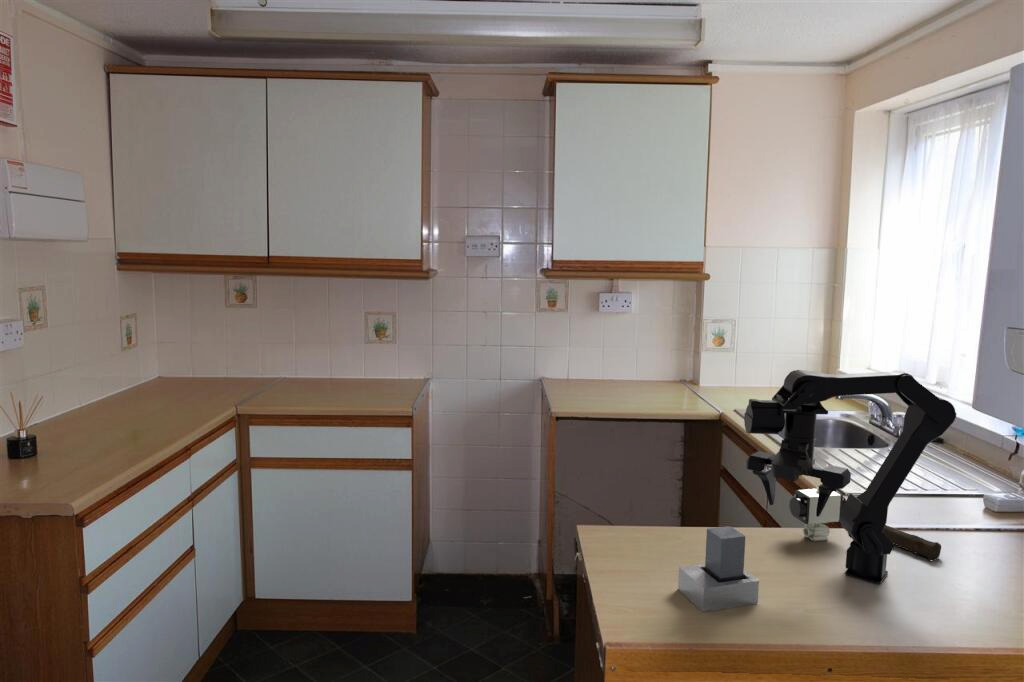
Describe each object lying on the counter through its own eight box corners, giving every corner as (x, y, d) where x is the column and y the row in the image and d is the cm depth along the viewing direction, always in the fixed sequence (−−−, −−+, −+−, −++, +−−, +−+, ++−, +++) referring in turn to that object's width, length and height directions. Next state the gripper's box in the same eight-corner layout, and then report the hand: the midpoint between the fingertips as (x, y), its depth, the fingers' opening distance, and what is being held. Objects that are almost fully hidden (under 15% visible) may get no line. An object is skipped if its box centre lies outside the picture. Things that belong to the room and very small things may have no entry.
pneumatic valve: (845, 541, 161) (849, 489, 159) (798, 544, 158) (802, 492, 157) (830, 531, 166) (833, 481, 164) (784, 534, 164) (787, 484, 162)
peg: (726, 587, 138) (729, 526, 136) (741, 600, 133) (745, 536, 131) (703, 591, 136) (706, 528, 135) (718, 603, 132) (721, 539, 130)
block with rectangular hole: (730, 581, 140) (731, 560, 140) (757, 603, 132) (758, 580, 131) (678, 589, 137) (679, 566, 136) (702, 611, 129) (703, 588, 128)
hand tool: (942, 559, 152) (944, 539, 151) (930, 563, 150) (932, 542, 150) (862, 528, 169) (863, 509, 168) (851, 531, 167) (852, 512, 166)
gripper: (737, 434, 141) (733, 509, 143) (836, 452, 129) (830, 534, 131) (759, 423, 150) (755, 495, 152) (854, 440, 137) (848, 517, 140)
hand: (794, 510), depth 143 cm, fingers open, 9 cm apart
